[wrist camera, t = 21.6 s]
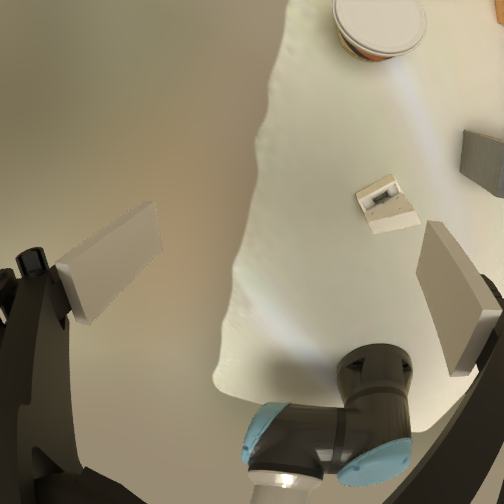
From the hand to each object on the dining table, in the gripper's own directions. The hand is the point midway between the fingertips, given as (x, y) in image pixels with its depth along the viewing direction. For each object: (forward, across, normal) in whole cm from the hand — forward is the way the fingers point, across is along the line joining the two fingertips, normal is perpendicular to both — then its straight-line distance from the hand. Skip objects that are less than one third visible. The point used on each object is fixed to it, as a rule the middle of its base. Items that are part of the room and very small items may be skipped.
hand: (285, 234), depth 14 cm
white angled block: (+29, -9, +6) cm, 31 cm away
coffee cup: (+29, -7, -16) cm, 34 cm away
